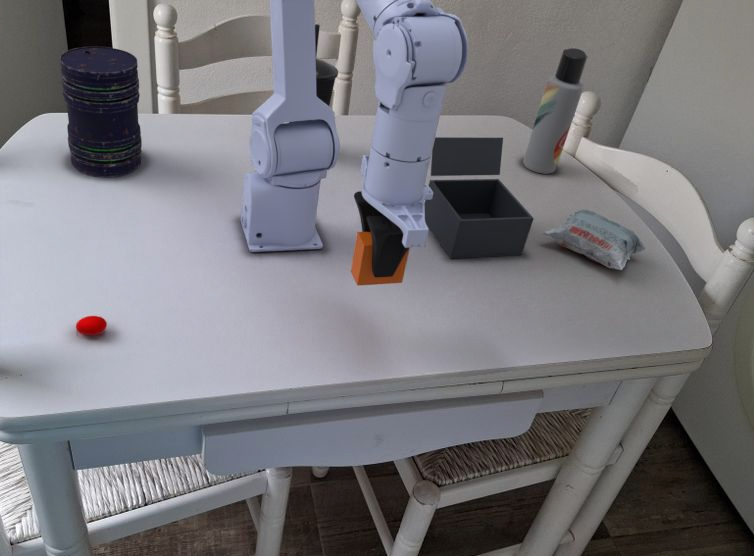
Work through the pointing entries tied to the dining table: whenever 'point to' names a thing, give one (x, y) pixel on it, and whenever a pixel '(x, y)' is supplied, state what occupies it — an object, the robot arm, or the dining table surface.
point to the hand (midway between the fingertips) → (378, 266)
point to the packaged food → (597, 239)
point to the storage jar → (102, 110)
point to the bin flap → (466, 156)
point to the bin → (477, 218)
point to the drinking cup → (323, 76)
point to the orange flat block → (364, 263)
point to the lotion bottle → (556, 113)
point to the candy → (91, 325)
